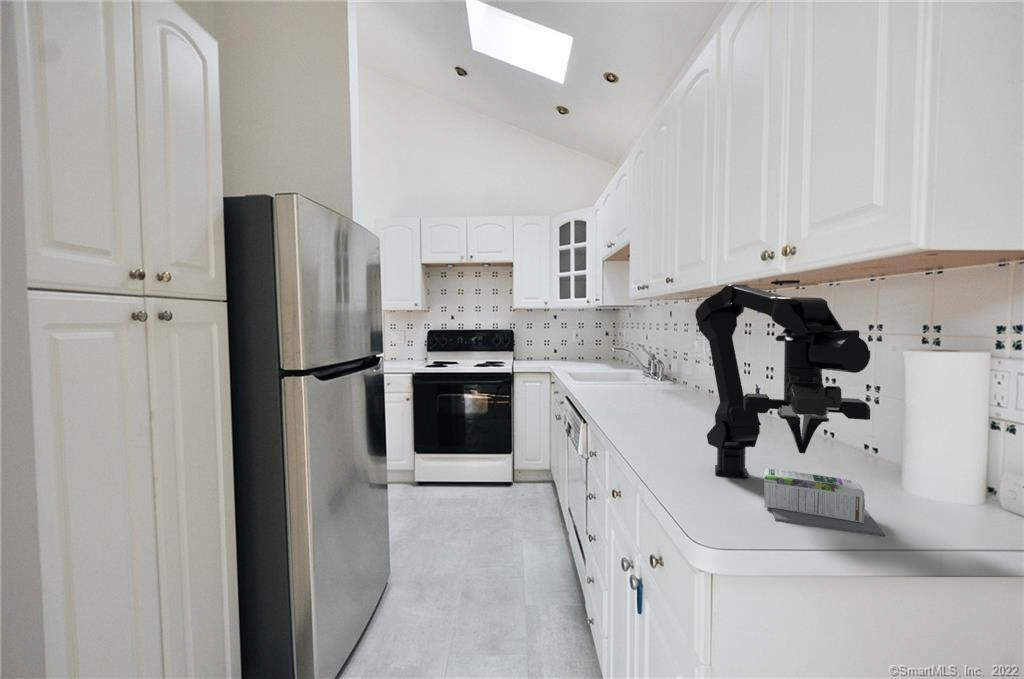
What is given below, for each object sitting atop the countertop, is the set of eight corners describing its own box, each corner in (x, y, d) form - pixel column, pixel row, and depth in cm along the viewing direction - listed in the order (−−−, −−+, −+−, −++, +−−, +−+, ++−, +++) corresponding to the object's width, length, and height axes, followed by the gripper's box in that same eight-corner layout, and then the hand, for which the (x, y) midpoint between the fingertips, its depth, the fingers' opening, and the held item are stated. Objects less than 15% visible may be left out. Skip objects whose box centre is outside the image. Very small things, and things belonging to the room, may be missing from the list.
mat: (765, 488, 92) (765, 486, 92) (855, 499, 86) (855, 497, 86) (775, 520, 77) (775, 517, 77) (885, 536, 71) (885, 533, 71)
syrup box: (764, 467, 86) (859, 478, 79) (764, 497, 87) (859, 511, 79) (763, 476, 81) (865, 489, 74) (764, 508, 82) (865, 524, 74)
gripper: (747, 369, 78) (746, 459, 79) (882, 373, 70) (880, 472, 71) (743, 364, 88) (742, 443, 89) (861, 367, 81) (859, 454, 81)
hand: (801, 452), depth 82 cm, fingers closed
